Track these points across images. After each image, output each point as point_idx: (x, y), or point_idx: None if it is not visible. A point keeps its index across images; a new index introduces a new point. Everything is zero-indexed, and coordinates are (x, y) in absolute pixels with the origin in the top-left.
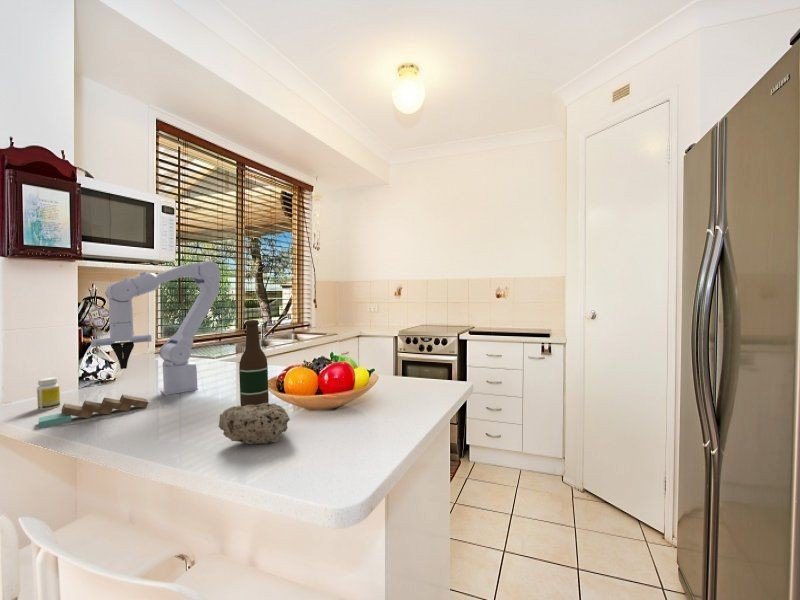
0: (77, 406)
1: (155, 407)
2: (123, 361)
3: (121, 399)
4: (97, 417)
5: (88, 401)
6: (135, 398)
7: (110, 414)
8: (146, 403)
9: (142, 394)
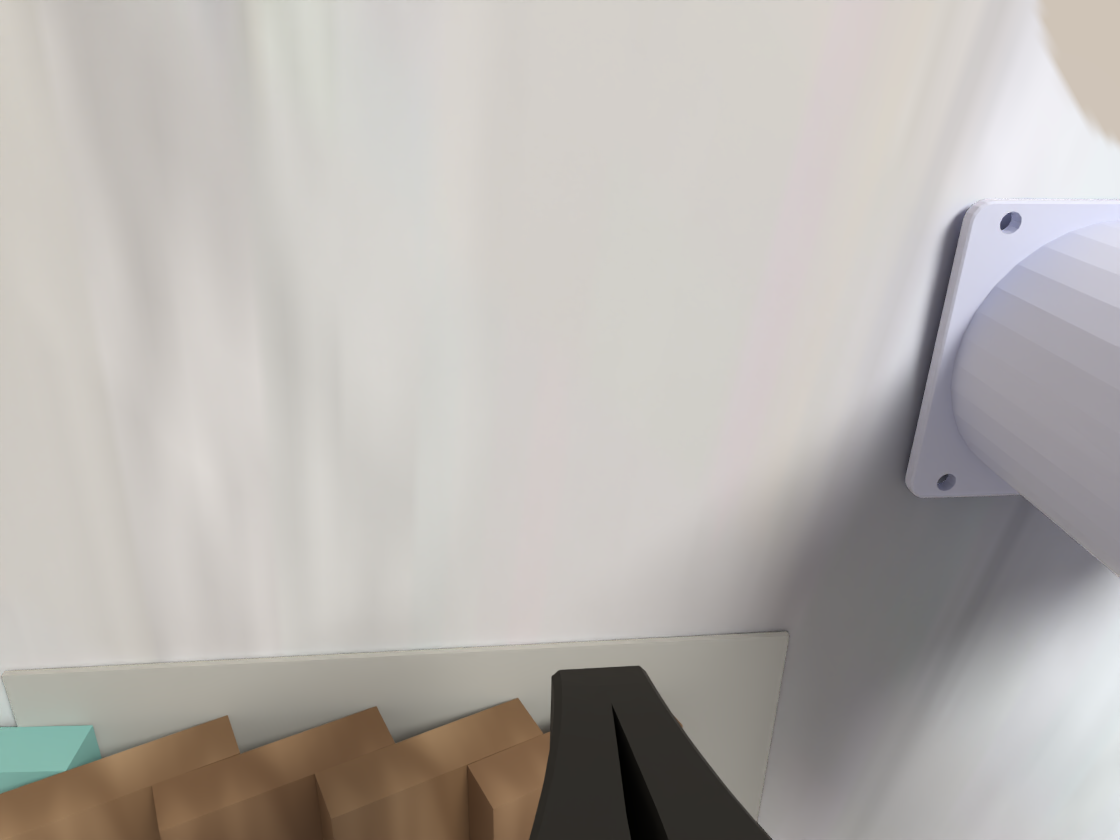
0: (115, 829)
1: None
2: (626, 814)
3: (478, 837)
4: None
5: (197, 835)
6: None
7: None
8: None
9: (760, 211)
